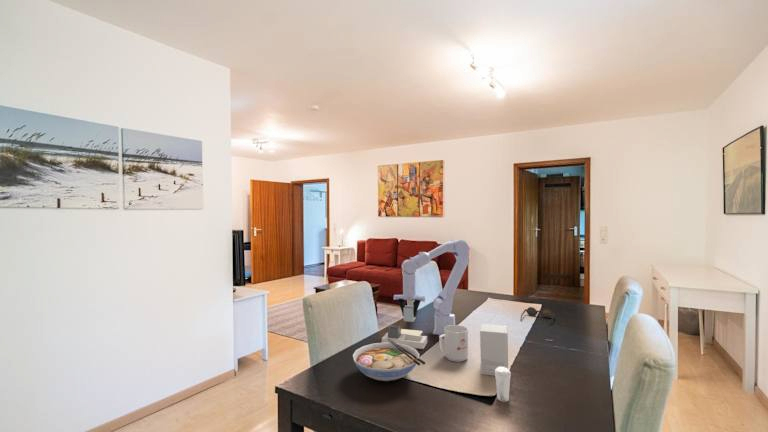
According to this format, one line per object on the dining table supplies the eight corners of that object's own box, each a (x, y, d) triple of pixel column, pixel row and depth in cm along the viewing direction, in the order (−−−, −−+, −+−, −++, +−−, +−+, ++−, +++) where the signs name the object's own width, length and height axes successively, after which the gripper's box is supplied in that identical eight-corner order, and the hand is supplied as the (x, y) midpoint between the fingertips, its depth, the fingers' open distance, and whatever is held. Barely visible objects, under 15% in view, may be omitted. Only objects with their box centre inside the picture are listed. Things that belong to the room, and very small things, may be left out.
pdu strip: (427, 342, 148) (427, 326, 148) (423, 349, 140) (423, 332, 140) (387, 337, 153) (387, 322, 153) (381, 344, 146) (381, 328, 146)
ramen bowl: (343, 367, 124) (342, 344, 124) (400, 356, 133) (400, 335, 133) (367, 401, 101) (367, 374, 101) (434, 386, 110) (434, 360, 110)
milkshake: (489, 395, 104) (489, 362, 104) (506, 394, 104) (506, 361, 104) (495, 403, 99) (495, 369, 99) (513, 402, 100) (513, 368, 100)
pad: (422, 332, 161) (422, 330, 161) (417, 339, 151) (417, 338, 151) (401, 329, 164) (401, 328, 164) (396, 337, 154) (396, 336, 154)
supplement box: (508, 367, 123) (507, 325, 123) (508, 378, 115) (508, 333, 115) (481, 363, 126) (481, 322, 126) (480, 374, 118) (479, 330, 118)
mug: (457, 351, 138) (457, 323, 137) (473, 359, 130) (472, 330, 130) (433, 357, 132) (432, 328, 132) (447, 366, 124) (447, 335, 124)
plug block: (415, 318, 159) (415, 305, 159) (413, 321, 155) (413, 307, 155) (406, 318, 160) (405, 304, 160) (403, 321, 156) (403, 307, 156)
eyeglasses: (554, 319, 180) (554, 309, 180) (551, 327, 168) (551, 316, 168) (524, 315, 188) (524, 305, 188) (519, 322, 175) (519, 312, 175)
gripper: (391, 287, 156) (391, 317, 156) (423, 289, 151) (423, 319, 152) (395, 284, 163) (396, 313, 163) (426, 285, 158) (426, 315, 158)
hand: (409, 316), depth 158 cm, fingers closed on plug block, 4 cm apart
